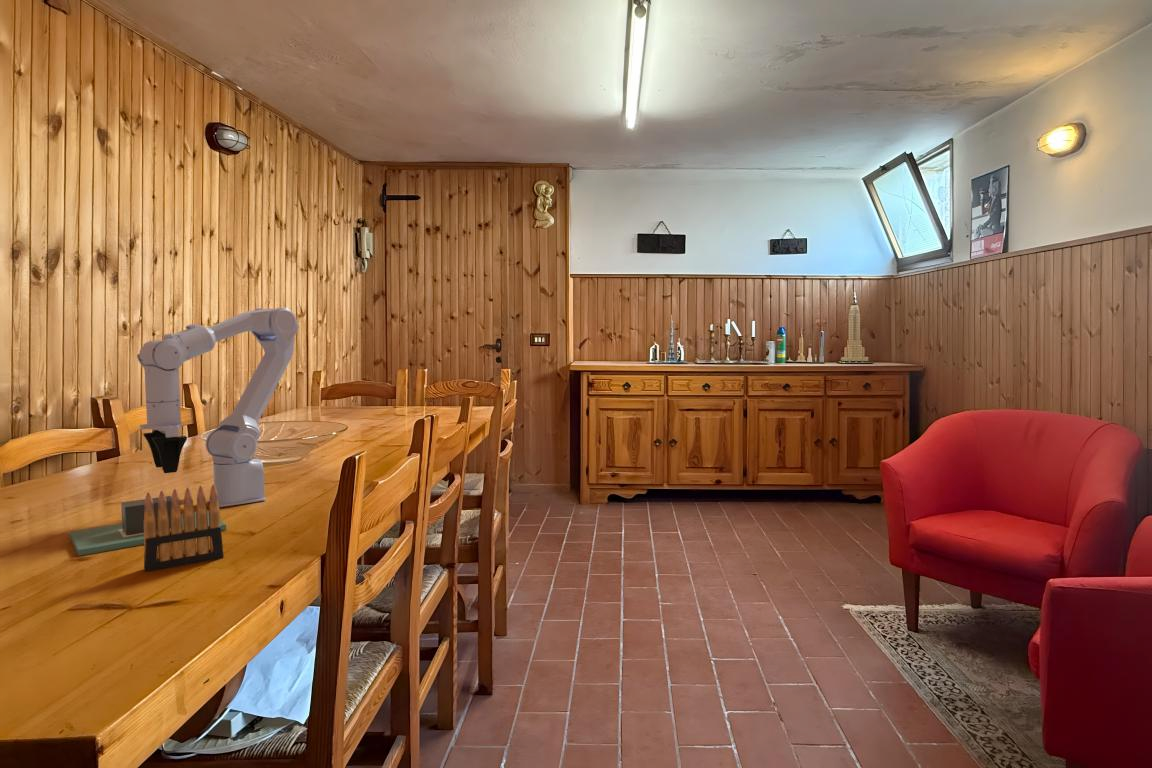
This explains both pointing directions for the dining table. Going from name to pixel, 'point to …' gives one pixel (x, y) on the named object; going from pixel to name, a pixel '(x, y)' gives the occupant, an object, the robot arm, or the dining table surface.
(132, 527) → the block
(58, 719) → the dining table surface
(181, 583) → the dining table surface
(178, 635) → the dining table surface
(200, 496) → the ammunition clip
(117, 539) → the board
